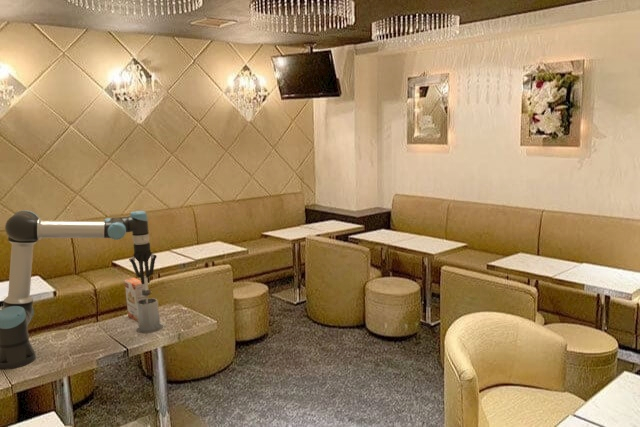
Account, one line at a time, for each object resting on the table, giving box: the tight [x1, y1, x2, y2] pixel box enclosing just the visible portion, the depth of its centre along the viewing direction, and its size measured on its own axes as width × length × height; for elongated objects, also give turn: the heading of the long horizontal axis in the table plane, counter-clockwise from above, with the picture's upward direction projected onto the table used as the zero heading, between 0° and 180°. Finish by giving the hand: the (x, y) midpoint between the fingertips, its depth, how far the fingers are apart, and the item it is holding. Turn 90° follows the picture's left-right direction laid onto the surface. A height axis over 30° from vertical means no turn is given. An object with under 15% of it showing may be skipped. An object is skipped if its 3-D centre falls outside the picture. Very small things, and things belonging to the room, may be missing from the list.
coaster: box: [135, 323, 164, 335], centre depth 263 cm, size 13×13×1 cm
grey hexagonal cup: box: [136, 297, 161, 332], centre depth 262 cm, size 10×10×14 cm
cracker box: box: [124, 277, 146, 322], centre depth 277 cm, size 14×6×21 cm, turn 42°
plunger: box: [142, 288, 151, 304], centre depth 260 cm, size 7×7×12 cm
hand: (146, 289), depth 260 cm, fingers closed
